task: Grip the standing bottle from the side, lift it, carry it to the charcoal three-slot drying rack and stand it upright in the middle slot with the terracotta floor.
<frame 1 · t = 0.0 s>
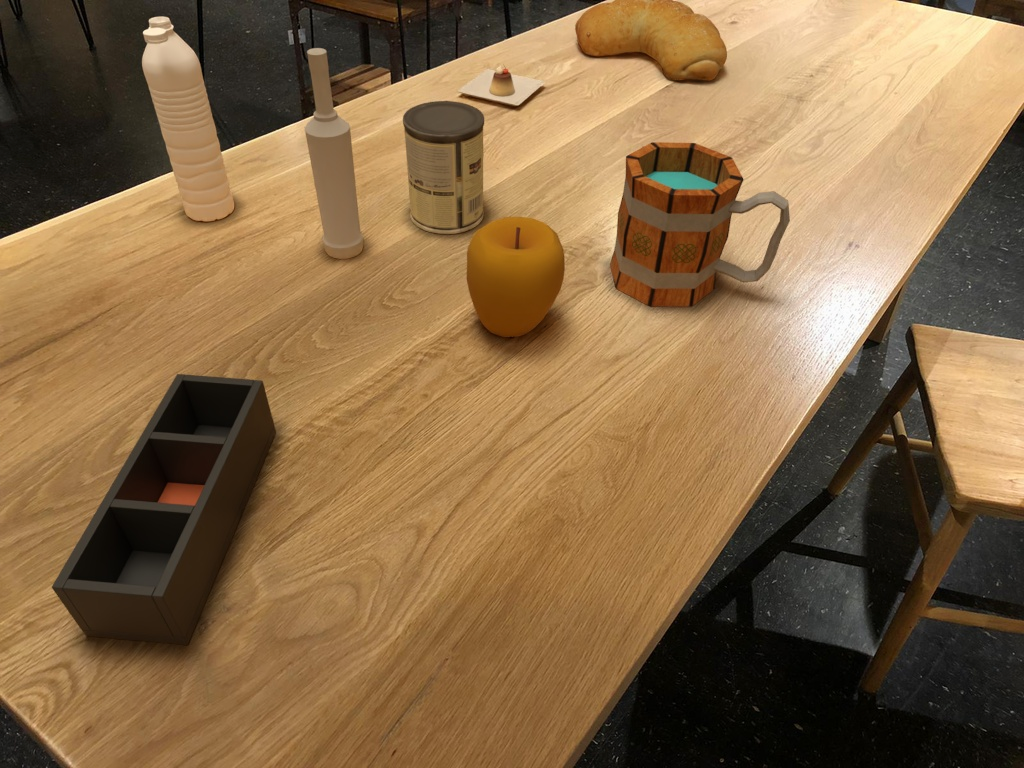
rack: (192, 521, 67), on the table
water bottle: (210, 215, 104), on the table
bottle: (344, 250, 99), on the table
dessert: (502, 93, 137), on the table
bread: (650, 55, 153), on the table
coffee can: (446, 216, 106), on the table
apple: (512, 325, 89), on the table
mug: (685, 283, 96), on the table
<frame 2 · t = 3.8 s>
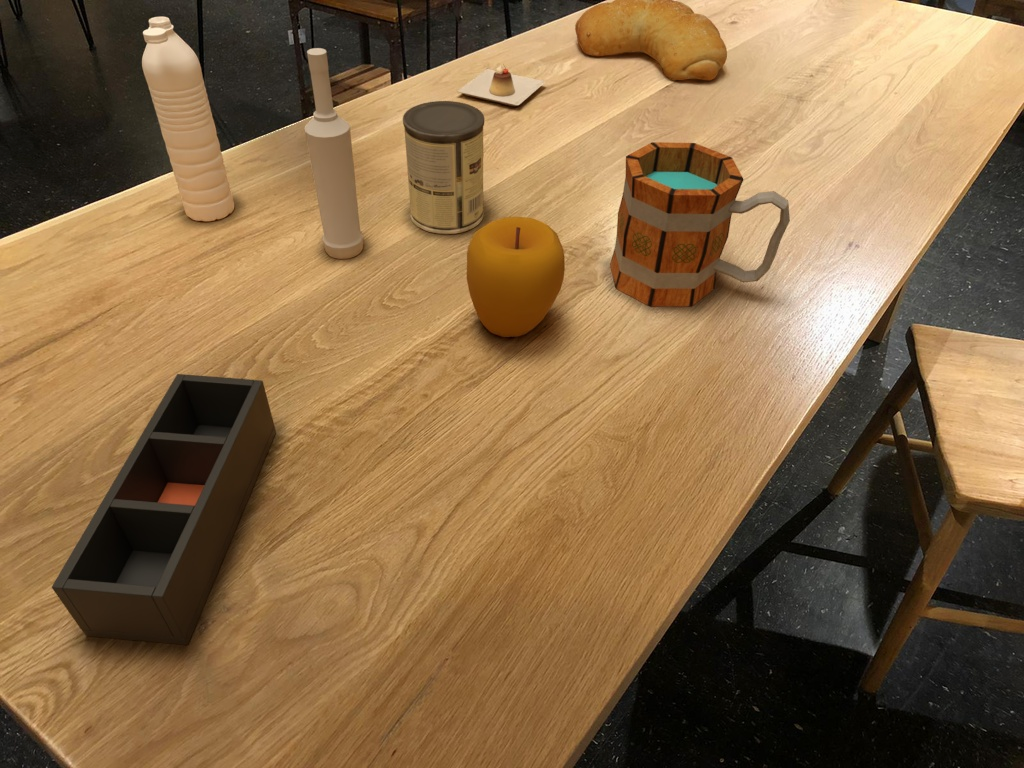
nothing on the table moved.
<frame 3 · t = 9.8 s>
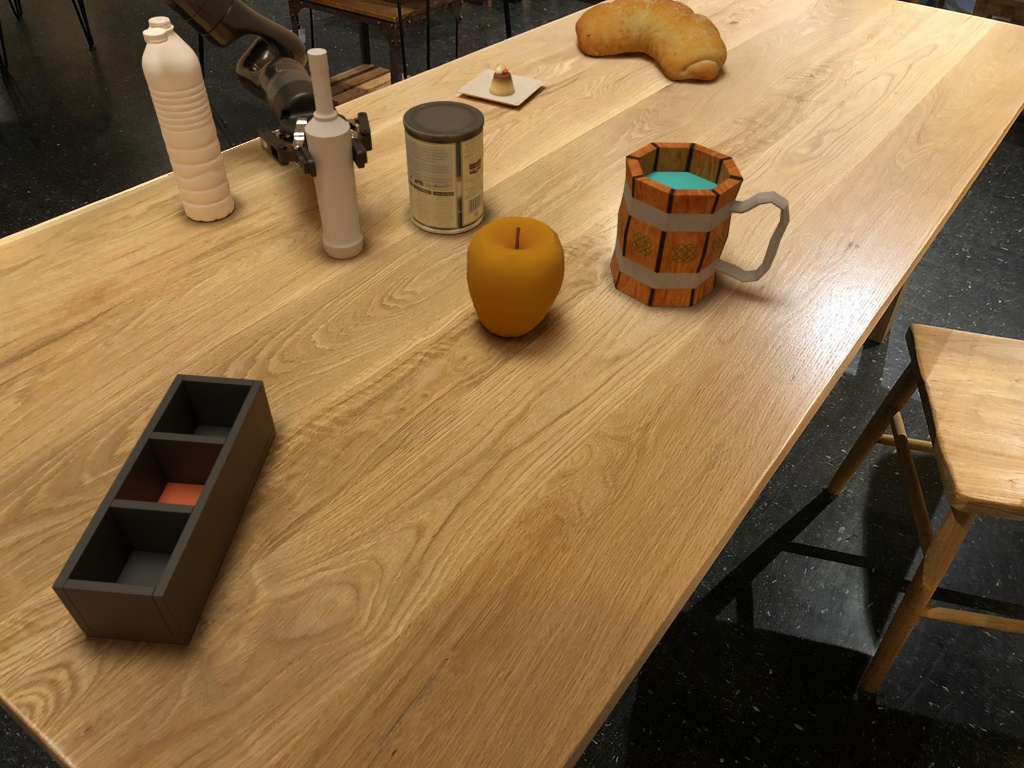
hand: (337, 165, 89), 13 cm above the table, tool horizontal, fingers closed on bottle, 5 cm apart
bottle: (344, 250, 99), on the table, touching gripper
everything else where it was.
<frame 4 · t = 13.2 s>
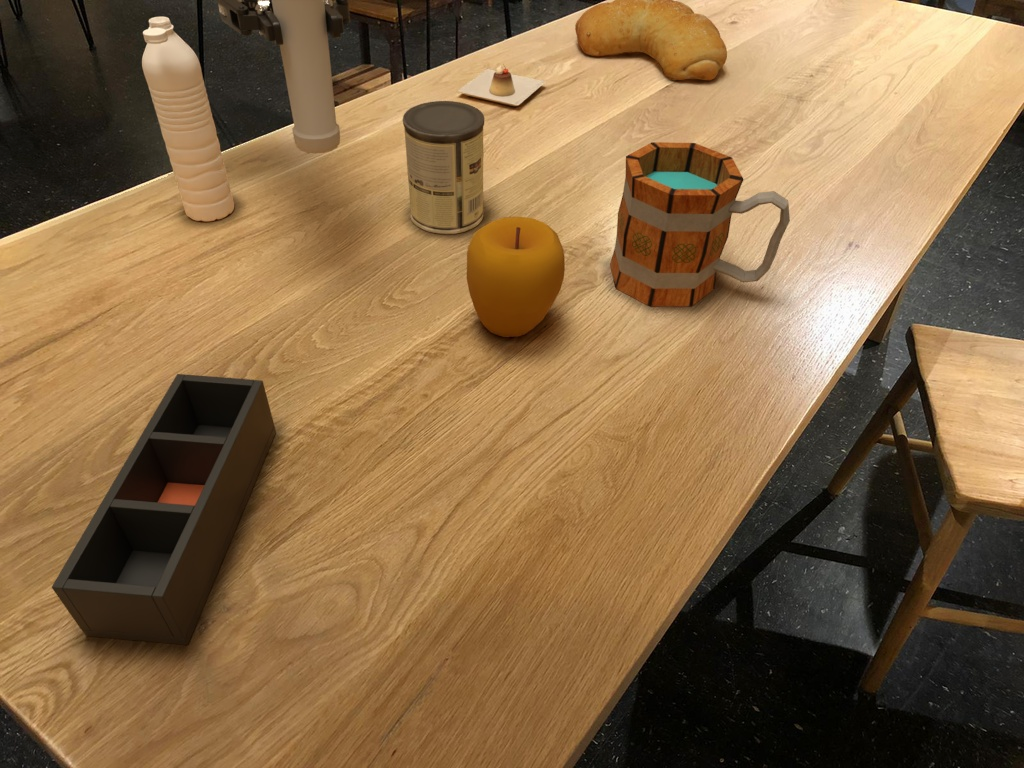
hand: (307, 31, 76), 29 cm above the table, tool horizontal, fingers closed on bottle, 5 cm apart
bottle: (318, 145, 86), point 16 cm above the table, touching gripper
everything else where it was.
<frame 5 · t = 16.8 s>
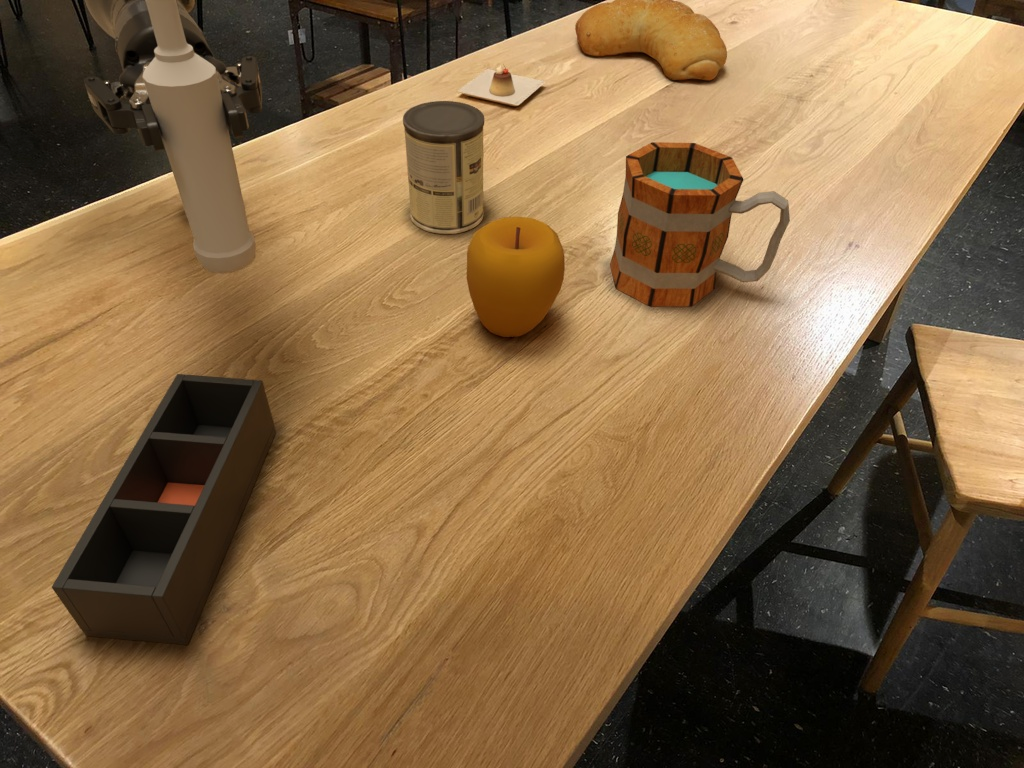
hand: (196, 132, 57), 30 cm above the table, tool horizontal, fingers closed on bottle, 5 cm apart
bottle: (228, 260, 68), point 16 cm above the table, touching gripper
everything else where it was.
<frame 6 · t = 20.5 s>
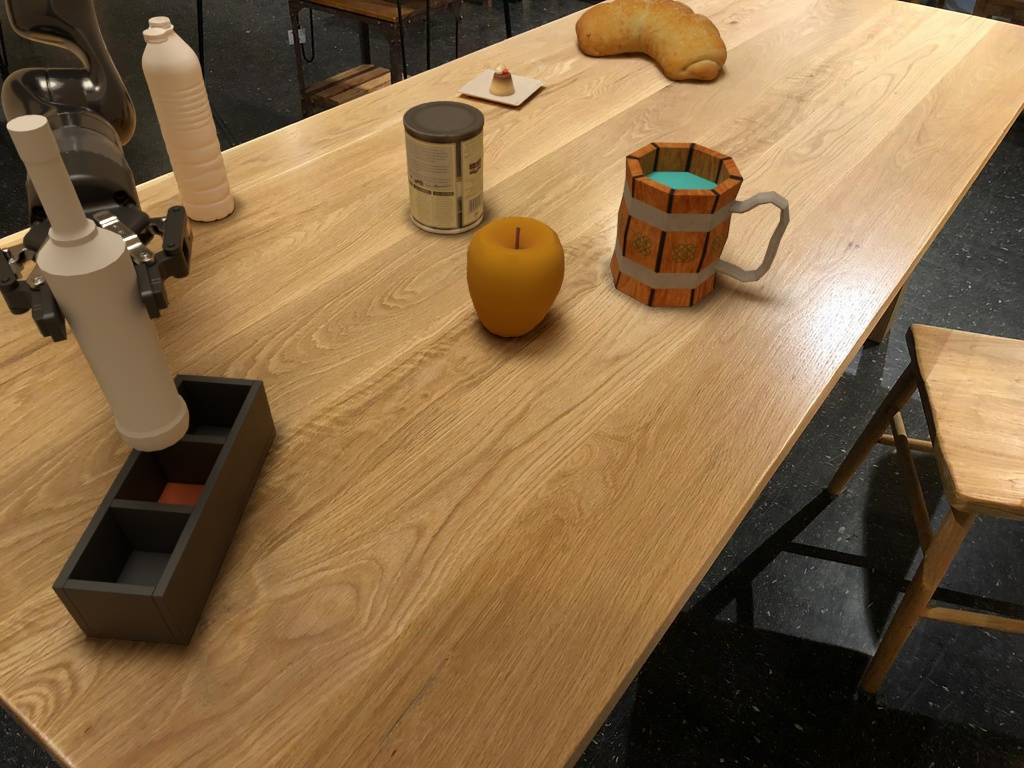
hand: (103, 318, 49), 25 cm above the table, tool horizontal, fingers closed on bottle, 5 cm apart
bottle: (158, 430, 60), point 11 cm above the table, touching gripper
everything else where it was.
when the fingers open (14 cm above the table, at t = 23.7 s): bottle stays where it is, resting on rack.
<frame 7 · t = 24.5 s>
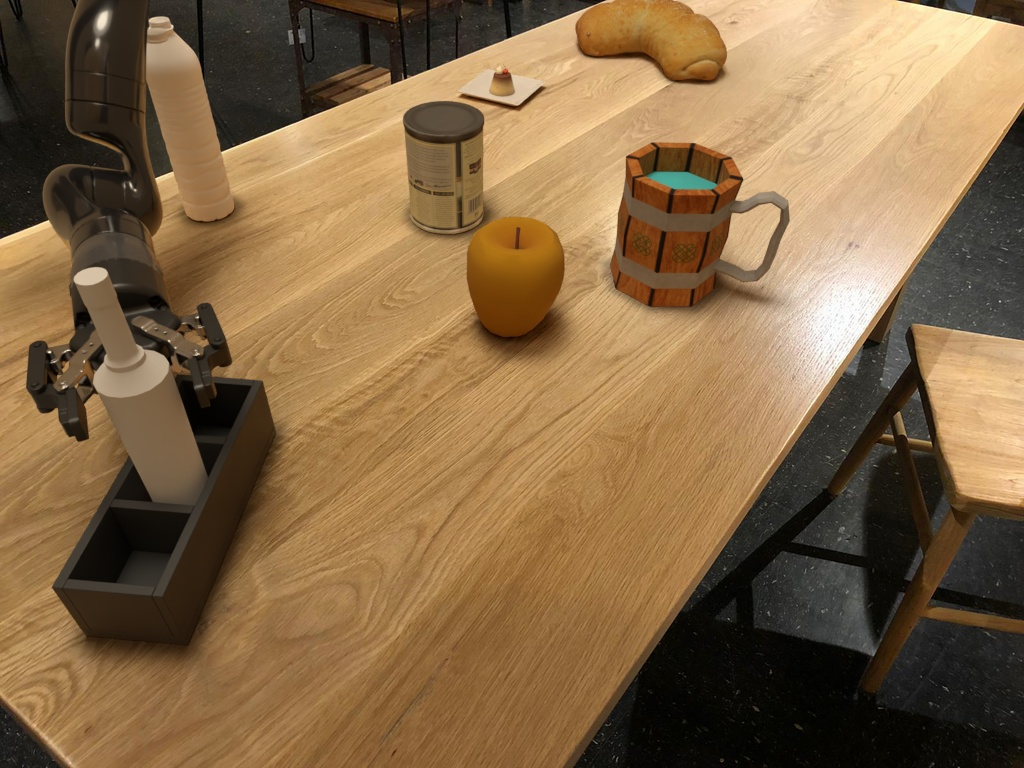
hand: (142, 415, 56), 15 cm above the table, tool horizontal, fingers open, 8 cm apart
bottle: (190, 513, 67), point 1 cm above the table, touching rack
everything else where it was.
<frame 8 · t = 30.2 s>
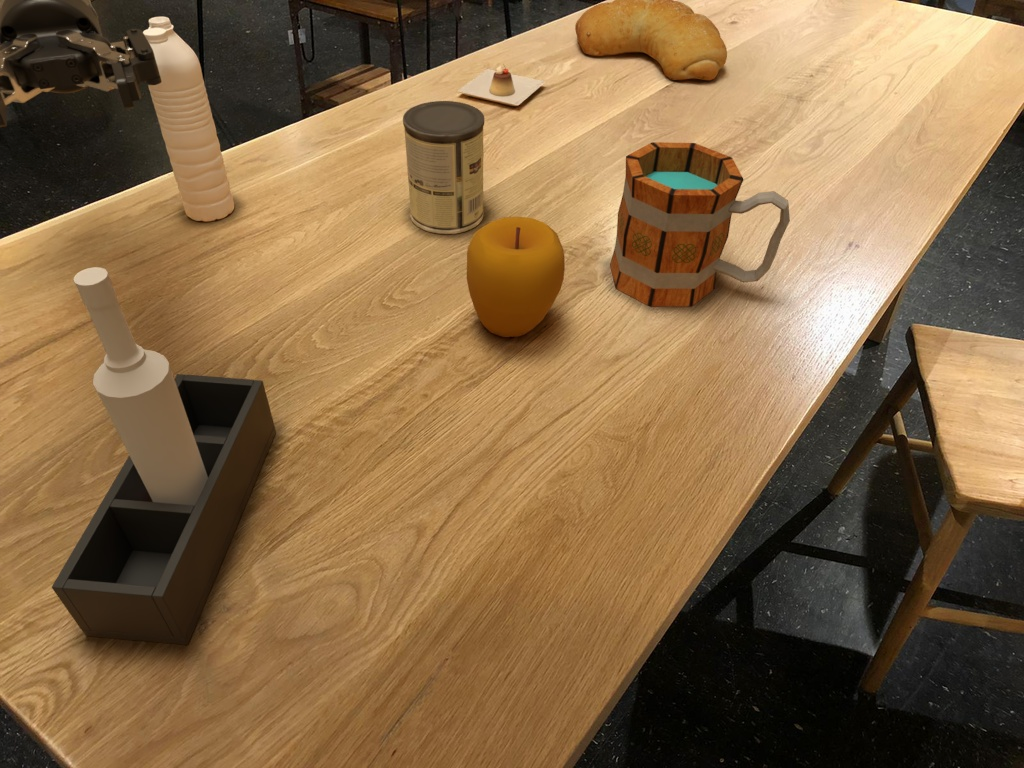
hand: (61, 104, 55), 32 cm above the table, tool horizontal, fingers open, 8 cm apart
nothing on the table moved.
at the end: bottle 0.1 cm off-centre in the rack, point 1.0 cm above the rack's base; bottle tilted 0°; the gripper is holding nothing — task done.
